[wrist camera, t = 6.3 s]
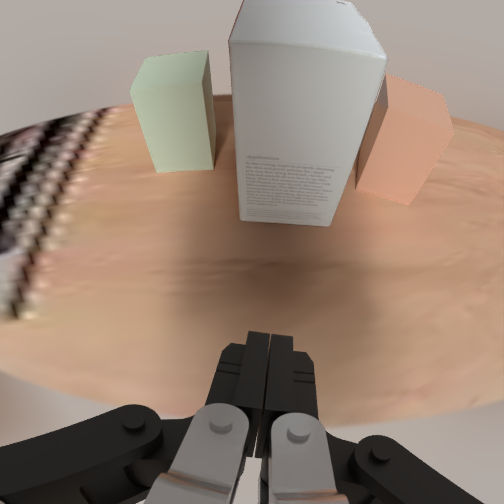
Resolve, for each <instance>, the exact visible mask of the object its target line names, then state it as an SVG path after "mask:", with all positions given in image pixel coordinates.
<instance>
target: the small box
mask: <svg viewBox="0 0 504 504" xmlns="http://www.w3.org/2000/svg"><path fill="white" fill-rule="evenodd" d="M228 44H229V54H230V71H231V86H232V104H233V122H234V136H235V153H236V166H237V184H238V201H239V216H240V220H242V221H252V222H269V223H285V224H297V225H311V226H327V227H328V226H330V225H331V222H332V220H333V217H334V215H335V212H336V209H337V207H338V204H339V201H340V199H341V196H342V193H343V191H344V188H345V186H346V183H347V180H348V178H349V175H350V172H351V170H352V167H353V165H354V162H355V159H356V156H357V153H358V151H359V148H360V145H361V142H362V139H363V136H364V133H365V131H366V128H367V125H368V122H369V119H370V116H371V113H372V109H373V106H374V103H375V101H376V97H377V95H378V91H379V88H380V85H381V81H382V78H383V75H384V72H385V68H386V65H387V61H388V57H387V55H386V54H385V52H384V50H383V48H382V47H381V45H380V43H379V41H378V40H377V38H376V37H375V35H374V33H373V31H372V29H371V27H370V25H369V24H368V22H367V21H366V20H365V19H364V18H363V17H362V16H361V14H360V13H359V12H358V10H357V9H356V8H355V6H354V5H353V4H352V3H350V2H345V1H341V0H243V2H242V5H241V7H240V10H239V12H238V15H237V17H236V20H235V23H234V26H233V29H232V32H231V35H230V37H229V40H228Z"/></svg>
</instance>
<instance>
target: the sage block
mask: <svg viewBox="0 0 504 504" xmlns="http://www.w3.org/2000/svg"><path fill="white" fill-rule="evenodd" d="M130 94H131V97H132V101H133V104H134V107H135V110H136V113H137V116H138V119H139V122H140V125H141V128H142V131H143V134H144V137H145V140H146V143H147V146H148V149H149V152H150V155H151V158H152V161H153V163H154V166H155V169H156V172H157V173H162V172H176V171H193V170H214V156H215V143H216V123H215V113H214V104H213V94H212V85H211V74H210V64H209V55H208V51H195V52H187V53H186V52H185V53H176V54H168V55H161V56H154V57H148V58H146V59H145V61H144V63H143V65H142V66H141V68H140V70H139V72H138V74H137V76H136V78H135V80H134V82H133V84H132V86H131V89H130Z"/></svg>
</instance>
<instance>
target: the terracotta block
mask: <svg viewBox="0 0 504 504" xmlns="http://www.w3.org/2000/svg"><path fill="white" fill-rule="evenodd" d="M453 134H454V129H453V126H452V122H451V119H450V115H449V112H448V109H447V106H446V102H445V100H444V96H443V95H442V94H439V93H437V92H434V91H432V90H430V89H427V88H425V87H422V86H419V85H417V84H414V83H412V82H409V81H406V80H403V79H400V78H398V77H395V76H392V75H389V74H385V77H384V80H383V83H382V86H381V90H380V93H379V96H378V99H377V102H376V105H375V108H374V111H373V114H372V117H371V120H370V122H369V125H368V128H367V131H366V134H365V137H364V140H363V142H362V145H361V148H360V151H359V162H358V171H357V181H356V190H360V191H363V192H366V193H370V194H373V195H376V196H379V197H383V198H386V199H389V200H392V201H395V202H398V203H401V204H405V205H408V206H409V204H410V203H411V201H412V200H413V198H414V197H415V195H416V194H417V192H418V191H419V189H420V188H421V186H422V185H423V183H424V182H425V180H426V179H427V177H428V175H429V174H430V172H431V171H432V169H433V167H434V166H435V164H436V163H437V161H438V159H439V158H440V156H441V154H442V153H443V151H444V149H445V148H446V146H447V144H448V143H449V141H450V139H451V138H452V136H453Z"/></svg>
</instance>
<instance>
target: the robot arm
mask: <svg viewBox="0 0 504 504" xmlns="http://www.w3.org/2000/svg"><path fill="white" fill-rule="evenodd" d="M269 338H270V334H268V333H261V332H253V331H249V332H248V337H247V342H246V345H242V344H235V343H231V344H229V345H228V346H227V347H226V348H225V349H224V350H223V351H222V353H221V356H220V359H219V363H218V366H217V369H216V372H215V375H214V378H213V382H212V385H211V388H210V391H209V394H208V397H207V400H206V403H205V406H204V407H202V408H201V409H199V410H198V411H197V412H196V414H195V415H193V416H191V417H188V418H184V419H167V420H161V419H160V417H159V416H158V414H157V413H156V412H155V411H153V410H152V409H150V408H148V407H146V406H143V405H136V404H132V405H125V406H122V407H119V408H116V409H114V410H111V411H109V412H106V413H104V414H101V415H99V416H96V417H93V418H90V419H87V420H85V421H82V422H79V423H76V424H73V425H71V426H68V427H65V428H62V429H59V430H56V431H53V432H50V433H47V434H43V435H40V436H37V437H34V438H30V439H27V440H24V441H21V442H17V443H13V444H10V445H6V446H2V447H0V504H136V503H138V502H140V501H142V500H144V499H146V500H145V502H144V504H233V502H234V499H235V495H236V491H237V487H238V484H239V480H240V476H241V475H242V473H243V471H244V466H245V462H246V457H252V456H253V452H254V447H255V442H256V437H257V443H256V451H255V458H262V464H261V471H260V475H259V479H258V504H484V503H482V502H481V501H479V500H478V499H476V498H475V497H473V496H472V495H470V494H469V493H467V492H466V491H464V490H463V489H461V488H460V487H458V486H457V485H455V484H454V483H453V482H451V481H450V480H448V479H447V478H445V477H444V476H443V475H441V474H439V473H438V472H437V471H435V470H434V469H432V468H431V467H430V466H429V465H427V464H426V463H424V462H423V461H422V460H420V459H419V458H418V457H416V456H415V455H413V454H412V453H410V452H409V451H408V450H407V449H406V448H404V447H403V446H402V445H400V444H399V443H397V442H396V441H395V440H393V439H391V438H389V437H386V436H382V435H372V436H368V437H366V438H364V439H362V440H361V441H360V442H359V443H358V444H357V443H353V442H349V441H346V440H342V439H339V438H336V437H334V436H332V435H331V434H329V433H328V432H327V431H326V430H325V428H324V426H323V425H322V424H321V422H320V421H319V418H318V408H317V396H316V385H315V375H314V364H313V361H312V360H311V358H310V357H309V356H308V354H307V353H306V352H298V351H293V336H285V335H277V334H272V335H271V340H270V346H269ZM268 348H269V352H268ZM257 432H258V435H257Z"/></svg>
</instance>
